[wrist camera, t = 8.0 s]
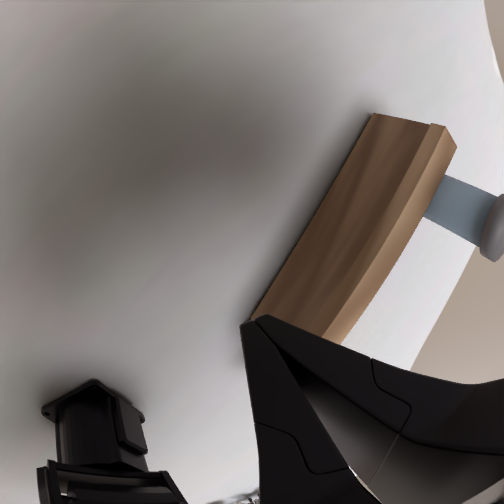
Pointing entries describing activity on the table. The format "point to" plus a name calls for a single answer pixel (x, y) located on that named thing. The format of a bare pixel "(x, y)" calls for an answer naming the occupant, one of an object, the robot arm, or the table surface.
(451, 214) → the capped peg handle
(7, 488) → the table surface
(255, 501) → the grey squirrel figure
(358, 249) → the wooden plank
